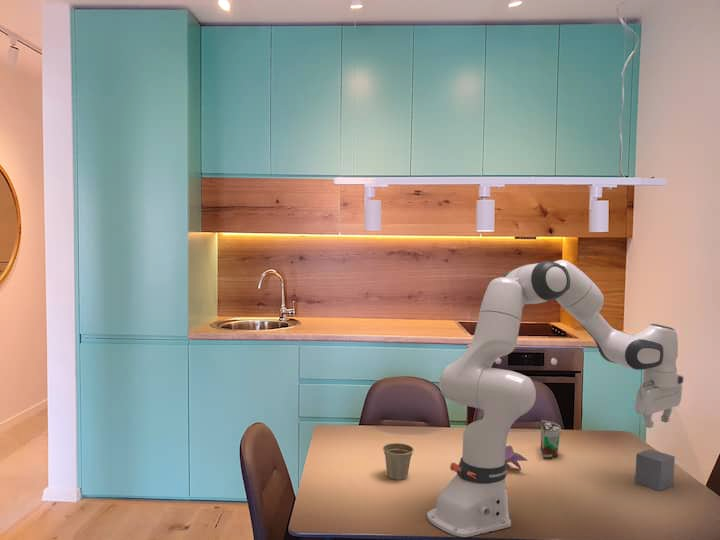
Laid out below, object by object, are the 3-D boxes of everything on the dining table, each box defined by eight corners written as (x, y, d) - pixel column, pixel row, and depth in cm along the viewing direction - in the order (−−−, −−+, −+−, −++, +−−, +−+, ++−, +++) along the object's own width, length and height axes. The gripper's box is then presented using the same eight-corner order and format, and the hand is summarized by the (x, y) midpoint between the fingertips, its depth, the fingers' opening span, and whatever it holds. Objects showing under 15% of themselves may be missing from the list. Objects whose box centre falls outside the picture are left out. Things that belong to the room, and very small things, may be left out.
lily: (528, 481, 183) (536, 450, 186) (495, 468, 181) (503, 437, 184) (508, 478, 194) (515, 449, 197) (476, 466, 192) (484, 436, 195)
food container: (563, 462, 196) (564, 432, 196) (543, 460, 197) (544, 430, 197) (558, 449, 208) (559, 421, 208) (540, 447, 209) (541, 419, 209)
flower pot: (419, 476, 182) (420, 448, 182) (399, 485, 176) (400, 456, 175) (395, 467, 189) (396, 440, 188) (375, 476, 182) (376, 448, 181)
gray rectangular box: (660, 491, 175) (661, 461, 175) (635, 482, 181) (636, 453, 181) (673, 485, 180) (674, 456, 179) (648, 476, 186) (649, 448, 185)
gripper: (651, 385, 170) (649, 433, 171) (686, 376, 182) (684, 421, 183) (630, 381, 175) (628, 427, 176) (665, 372, 187) (663, 416, 188)
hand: (657, 424), depth 180 cm, fingers open, 8 cm apart
